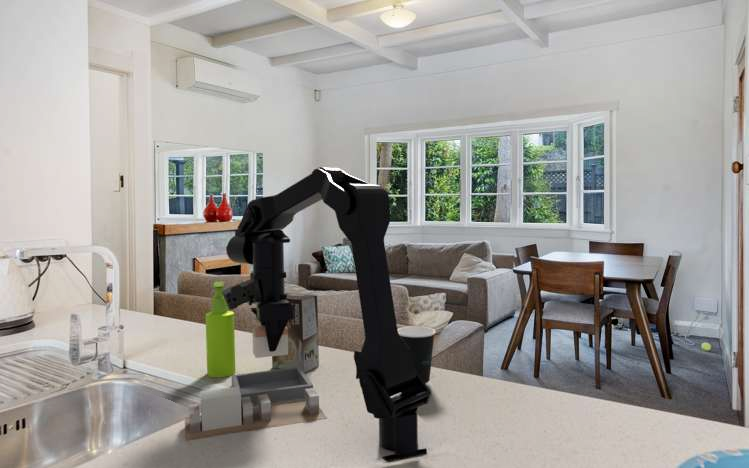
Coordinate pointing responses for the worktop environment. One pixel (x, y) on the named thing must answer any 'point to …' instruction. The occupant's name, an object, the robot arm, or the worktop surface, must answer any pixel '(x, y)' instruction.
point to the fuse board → (259, 415)
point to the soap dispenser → (220, 336)
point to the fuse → (220, 408)
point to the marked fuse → (262, 345)
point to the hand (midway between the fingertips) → (270, 348)
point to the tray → (273, 384)
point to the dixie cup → (419, 348)
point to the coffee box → (301, 335)
